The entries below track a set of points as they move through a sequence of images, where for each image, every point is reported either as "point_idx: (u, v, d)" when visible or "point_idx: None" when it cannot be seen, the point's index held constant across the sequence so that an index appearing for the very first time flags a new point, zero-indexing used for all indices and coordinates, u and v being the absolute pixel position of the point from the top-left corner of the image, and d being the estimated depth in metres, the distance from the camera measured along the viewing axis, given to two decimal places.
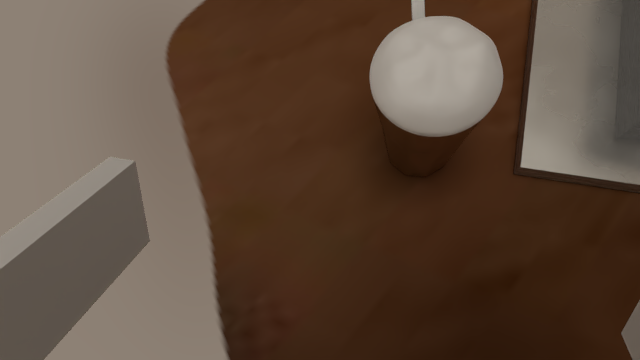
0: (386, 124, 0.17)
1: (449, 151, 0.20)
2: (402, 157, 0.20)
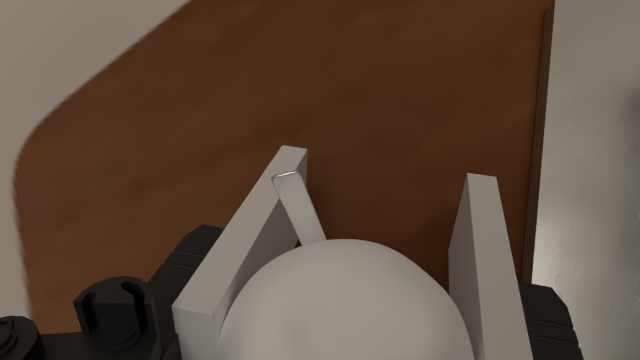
0: None
1: None
2: None
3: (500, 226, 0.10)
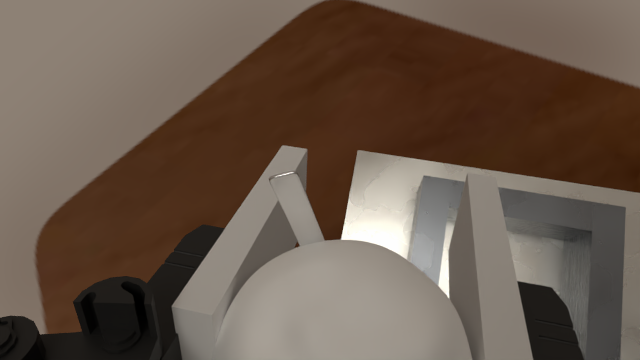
0: None
1: None
2: None
3: (500, 226, 0.10)
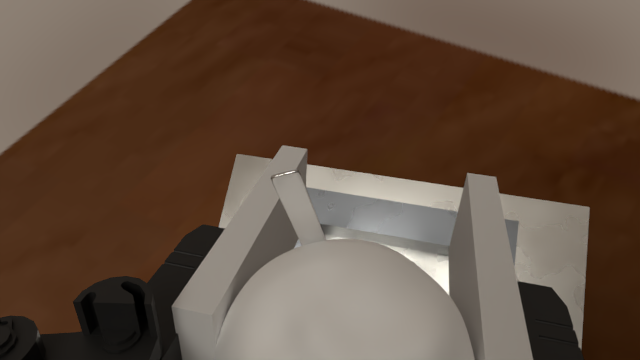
0: None
1: None
2: None
3: (500, 226, 0.10)
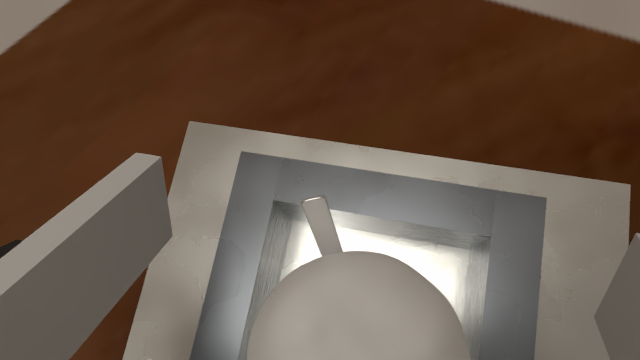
0: None
1: None
2: None
3: None
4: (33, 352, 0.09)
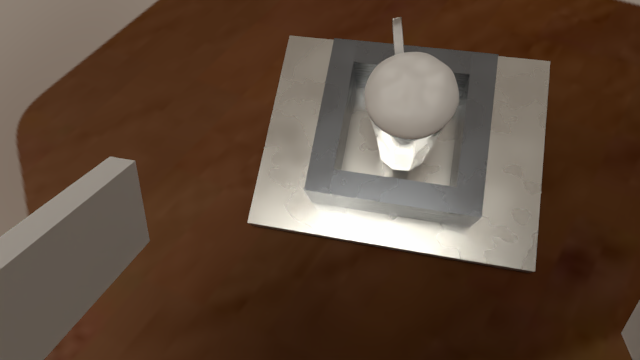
0: (376, 130, 0.23)
1: (424, 150, 0.26)
2: (389, 155, 0.27)
3: None
4: None
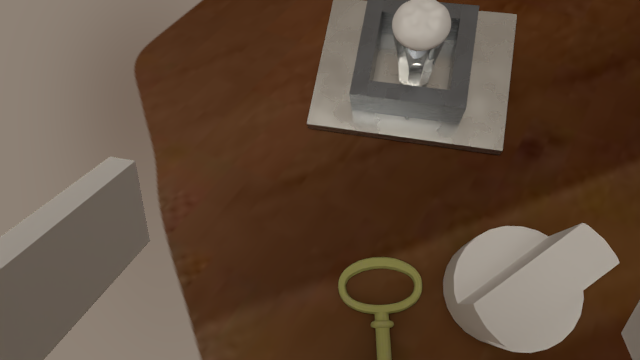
0: (399, 48, 0.37)
1: (429, 66, 0.40)
2: (406, 71, 0.40)
3: None
4: None
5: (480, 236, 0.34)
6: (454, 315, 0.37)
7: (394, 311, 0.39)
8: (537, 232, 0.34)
